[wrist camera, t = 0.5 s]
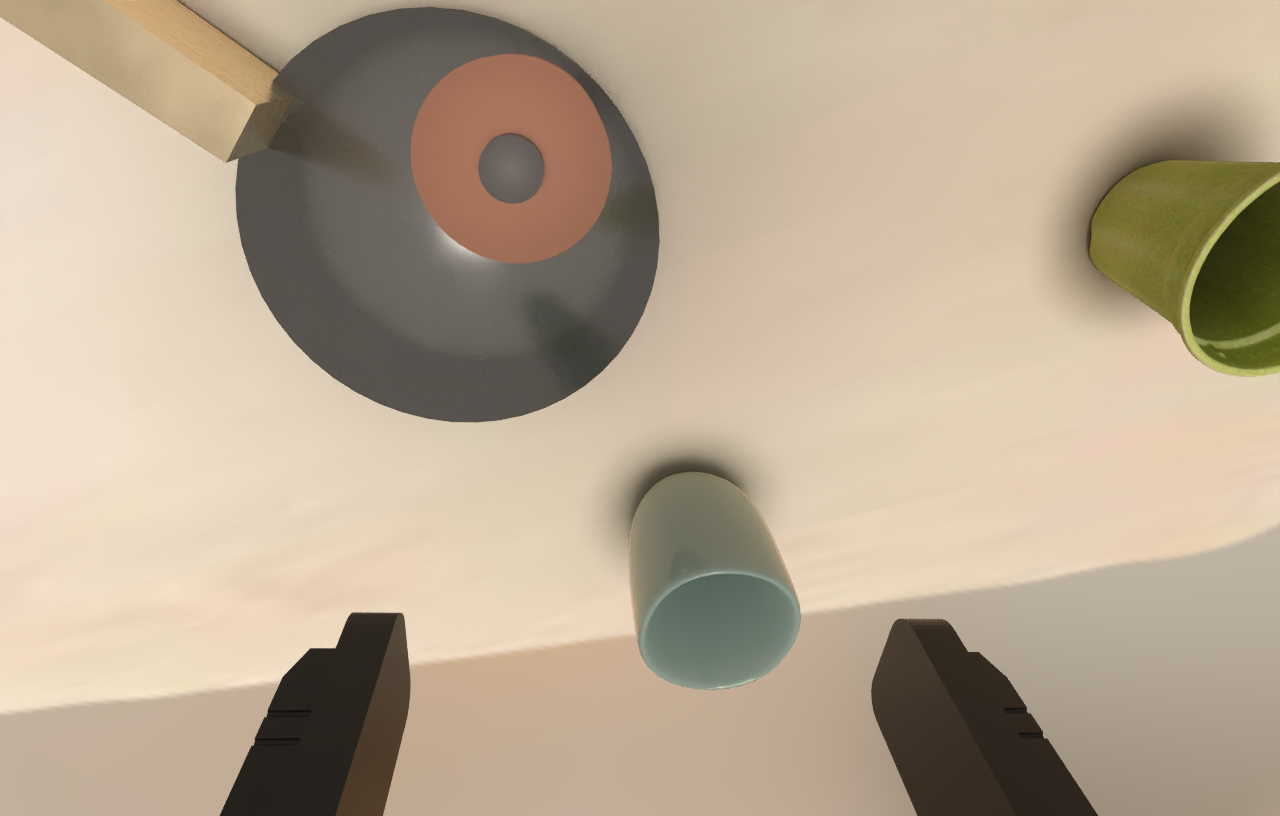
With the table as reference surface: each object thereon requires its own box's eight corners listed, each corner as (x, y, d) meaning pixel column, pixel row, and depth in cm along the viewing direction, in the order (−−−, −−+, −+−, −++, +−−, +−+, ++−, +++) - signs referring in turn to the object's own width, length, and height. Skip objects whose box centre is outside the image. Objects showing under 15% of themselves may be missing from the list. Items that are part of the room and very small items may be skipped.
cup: (607, 548, 42) (618, 682, 33) (641, 439, 38) (664, 557, 30) (727, 566, 43) (769, 700, 35) (770, 464, 40) (828, 582, 31)
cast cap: (495, 12, 27) (478, 3, 21) (637, 131, 29) (654, 151, 24) (402, 163, 29) (365, 190, 23) (542, 262, 31) (537, 307, 26)
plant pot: (1135, 337, 39) (1276, 410, 31) (1015, 261, 36) (1138, 321, 28) (1272, 184, 35) (1469, 222, 27) (1151, 86, 32) (1333, 99, 25)
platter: (191, -266, 23) (93, -347, 18) (733, 197, 32) (763, 224, 27) (12, 175, 29) (-99, 201, 24) (515, 465, 38) (508, 526, 33)
